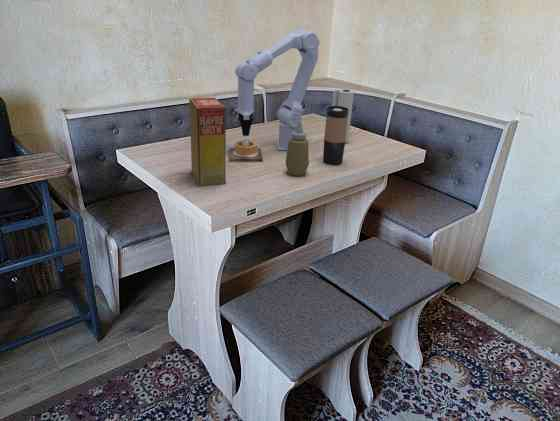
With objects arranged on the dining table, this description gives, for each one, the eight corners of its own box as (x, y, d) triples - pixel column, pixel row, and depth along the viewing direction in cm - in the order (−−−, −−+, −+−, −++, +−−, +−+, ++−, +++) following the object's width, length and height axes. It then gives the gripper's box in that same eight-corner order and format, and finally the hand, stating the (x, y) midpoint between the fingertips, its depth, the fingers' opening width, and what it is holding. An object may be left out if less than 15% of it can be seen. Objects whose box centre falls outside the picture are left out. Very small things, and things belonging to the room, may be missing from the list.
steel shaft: (248, 152, 172) (248, 139, 170) (249, 154, 170) (249, 141, 168) (242, 152, 172) (242, 139, 170) (242, 154, 170) (242, 141, 168)
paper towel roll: (350, 141, 193) (356, 90, 183) (344, 145, 188) (350, 92, 179) (335, 138, 196) (340, 87, 186) (328, 141, 191) (333, 90, 182)
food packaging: (227, 183, 148) (226, 106, 136) (198, 186, 145) (195, 108, 133) (217, 169, 159) (216, 96, 148) (190, 171, 156) (186, 97, 144)
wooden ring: (256, 148, 176) (256, 140, 175) (257, 155, 169) (257, 147, 168) (235, 148, 175) (235, 140, 174) (235, 155, 168) (235, 147, 167)
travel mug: (344, 160, 172) (350, 107, 163) (340, 167, 166) (346, 112, 157) (325, 157, 174) (329, 104, 165) (319, 163, 168) (324, 109, 159)
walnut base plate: (260, 150, 178) (260, 147, 177) (262, 161, 167) (262, 158, 166) (229, 150, 176) (229, 147, 176) (229, 161, 166) (229, 158, 165)
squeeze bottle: (300, 179, 154) (304, 127, 145) (280, 173, 157) (282, 122, 149) (312, 172, 160) (316, 121, 152) (292, 167, 163) (295, 117, 155)
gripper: (234, 92, 171) (234, 127, 177) (234, 101, 158) (235, 139, 165) (253, 92, 172) (252, 128, 178) (255, 102, 159) (254, 139, 165)
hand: (245, 133), depth 171 cm, fingers open, 4 cm apart
